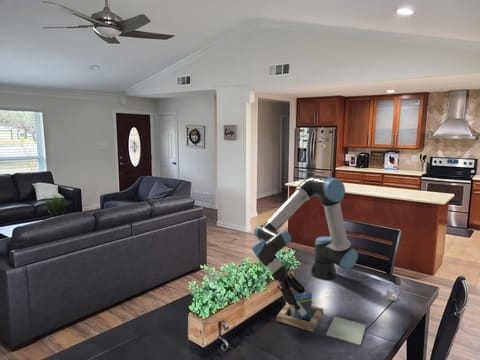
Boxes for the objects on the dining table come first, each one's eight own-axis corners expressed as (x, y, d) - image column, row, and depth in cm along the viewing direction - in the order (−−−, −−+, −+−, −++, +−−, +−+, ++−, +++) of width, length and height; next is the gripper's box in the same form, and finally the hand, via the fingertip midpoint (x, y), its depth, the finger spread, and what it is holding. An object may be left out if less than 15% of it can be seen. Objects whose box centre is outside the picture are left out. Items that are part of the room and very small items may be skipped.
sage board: (334, 317, 158) (334, 316, 158) (366, 326, 151) (366, 325, 151) (326, 335, 144) (326, 334, 144) (360, 345, 137) (360, 344, 137)
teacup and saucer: (395, 303, 173) (395, 296, 172) (378, 298, 177) (379, 291, 177) (399, 297, 180) (399, 289, 179) (383, 292, 184) (384, 285, 184)
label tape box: (306, 313, 161) (307, 288, 159) (310, 317, 157) (312, 292, 155) (290, 316, 158) (291, 291, 156) (294, 321, 154) (295, 295, 152)
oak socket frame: (289, 304, 169) (289, 299, 168) (323, 313, 161) (323, 308, 161) (276, 320, 154) (276, 315, 154) (313, 331, 146) (313, 326, 146)
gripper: (279, 265, 171) (308, 303, 166) (262, 282, 153) (294, 325, 148) (290, 257, 168) (320, 295, 163) (273, 273, 149) (306, 317, 144)
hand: (307, 309), depth 155 cm, fingers closed on label tape box, 9 cm apart
